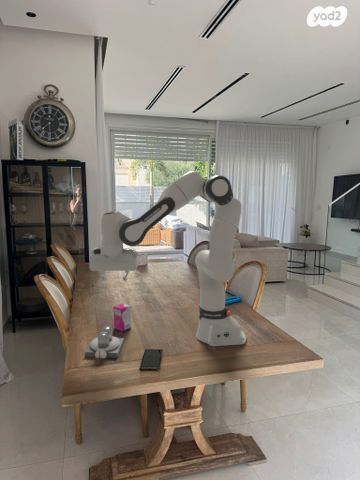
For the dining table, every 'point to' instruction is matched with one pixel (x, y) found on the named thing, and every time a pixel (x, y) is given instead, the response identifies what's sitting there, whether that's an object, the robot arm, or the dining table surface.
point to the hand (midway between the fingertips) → (114, 280)
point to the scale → (110, 351)
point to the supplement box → (122, 317)
